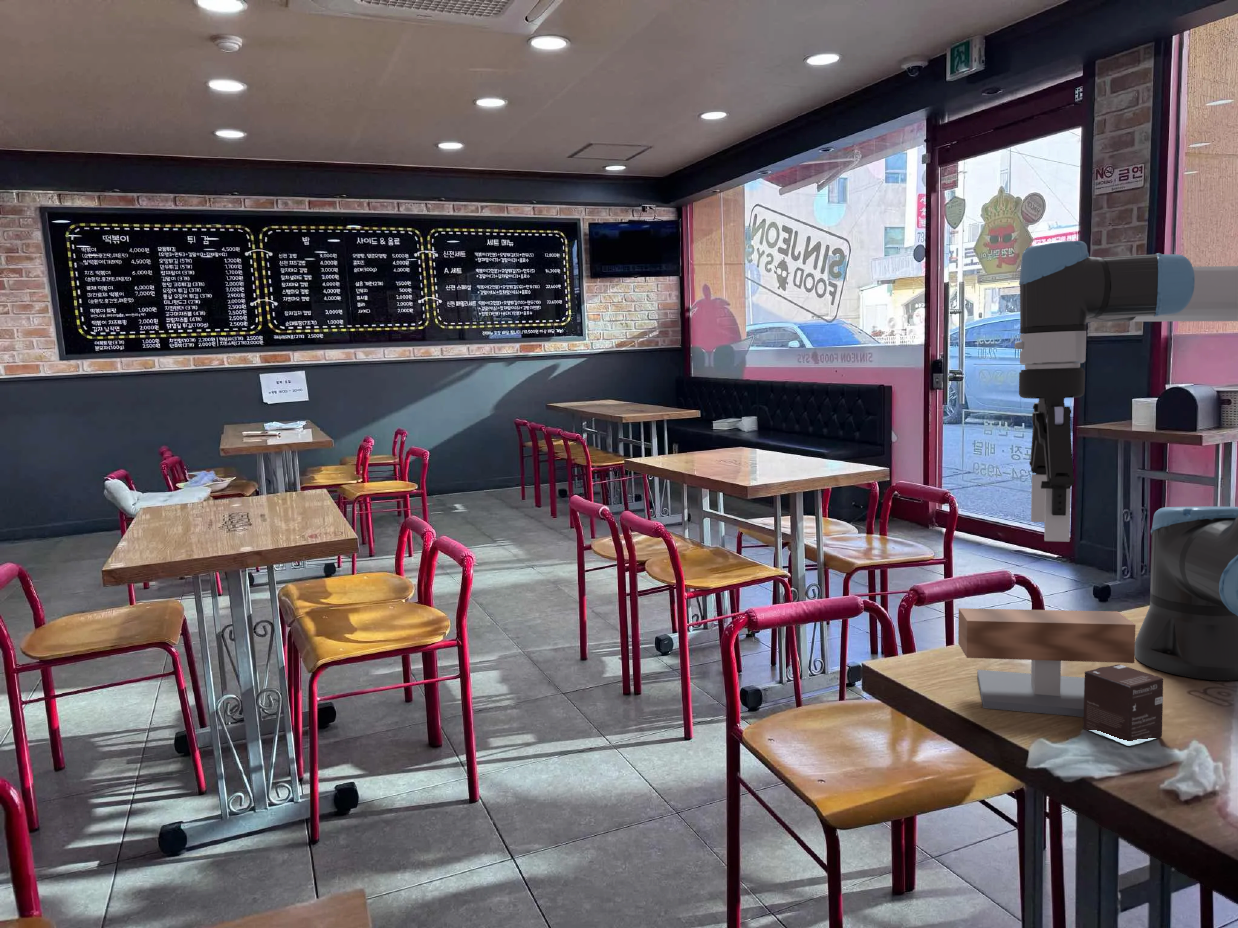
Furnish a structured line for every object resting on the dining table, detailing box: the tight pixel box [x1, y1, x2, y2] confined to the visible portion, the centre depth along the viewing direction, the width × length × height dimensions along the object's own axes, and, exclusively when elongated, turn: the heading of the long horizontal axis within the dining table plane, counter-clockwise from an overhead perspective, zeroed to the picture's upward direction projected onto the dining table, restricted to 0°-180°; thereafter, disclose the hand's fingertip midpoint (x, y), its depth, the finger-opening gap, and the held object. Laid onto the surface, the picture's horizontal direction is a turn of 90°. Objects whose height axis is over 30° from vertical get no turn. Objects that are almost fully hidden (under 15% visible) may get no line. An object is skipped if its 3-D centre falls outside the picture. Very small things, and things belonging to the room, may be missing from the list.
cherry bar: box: [957, 607, 1136, 664], centre depth 114 cm, size 20×6×5 cm, turn 79°
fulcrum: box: [976, 660, 1085, 718], centre depth 114 cm, size 16×12×6 cm
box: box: [1082, 664, 1164, 741], centre depth 102 cm, size 6×6×7 cm
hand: (1049, 530), depth 112 cm, fingers open, 13 cm apart
